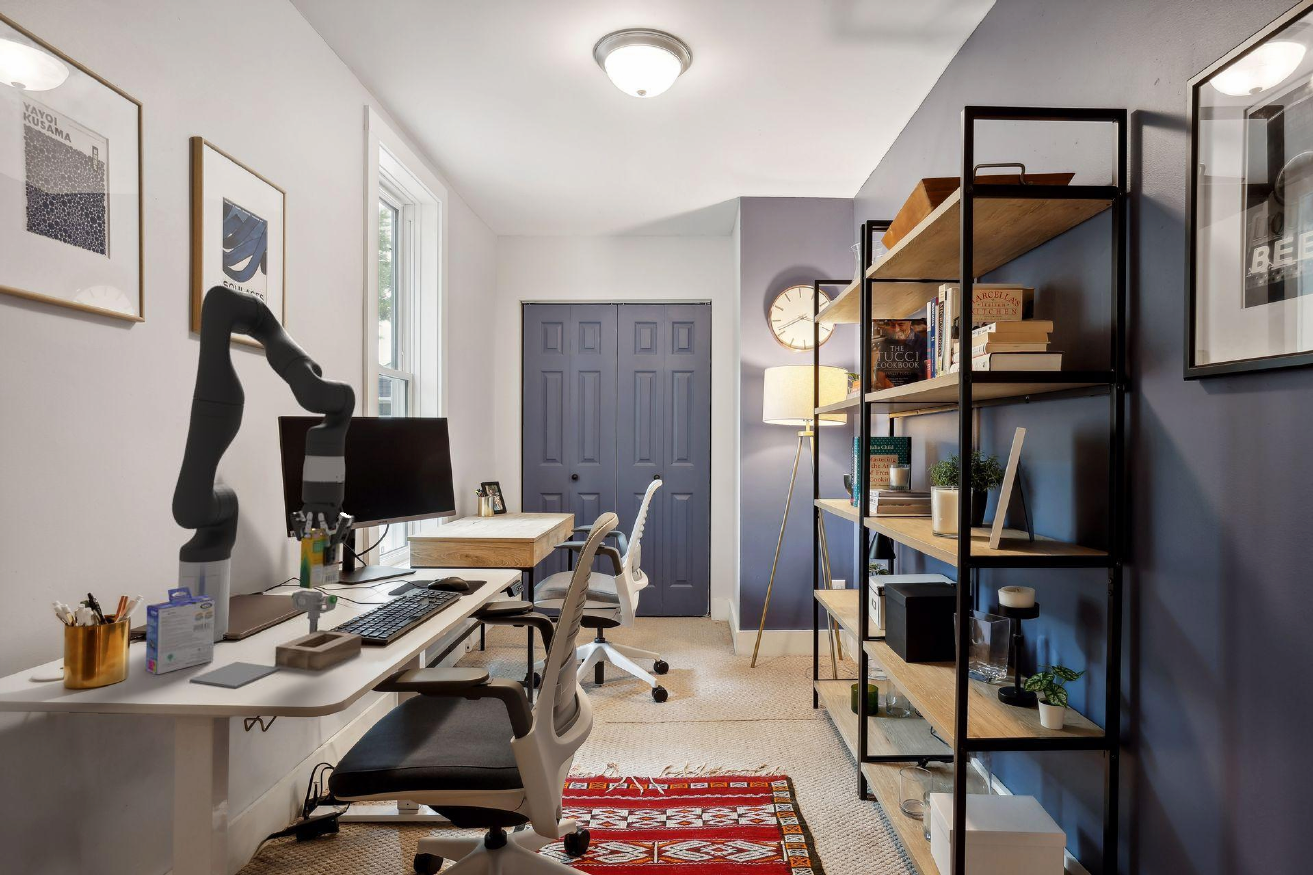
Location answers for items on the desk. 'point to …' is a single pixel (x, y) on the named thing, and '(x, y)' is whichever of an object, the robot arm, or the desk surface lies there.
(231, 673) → the mat
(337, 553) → the crayon box
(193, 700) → the desk surface
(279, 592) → the desk surface
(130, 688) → the desk surface
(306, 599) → the mechanical component
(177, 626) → the ink cartridge box
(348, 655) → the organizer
